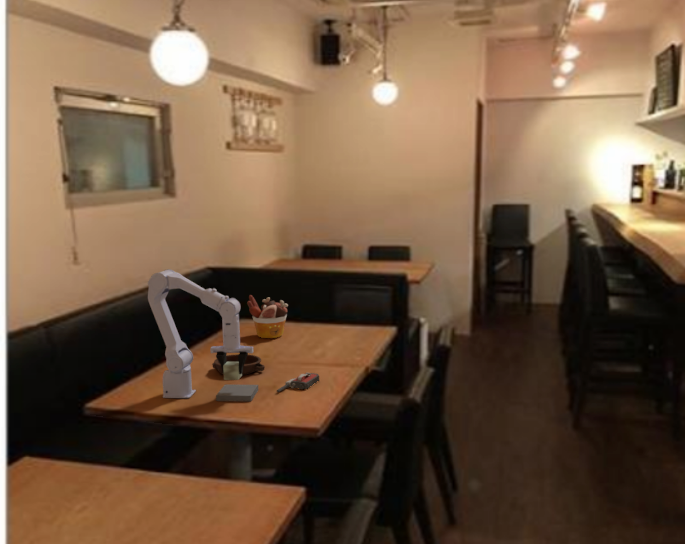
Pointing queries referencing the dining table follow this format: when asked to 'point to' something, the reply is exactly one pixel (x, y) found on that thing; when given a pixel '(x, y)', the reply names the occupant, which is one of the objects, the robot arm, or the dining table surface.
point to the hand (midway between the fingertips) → (233, 373)
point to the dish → (249, 366)
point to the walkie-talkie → (301, 381)
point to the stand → (237, 393)
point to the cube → (231, 371)
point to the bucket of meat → (268, 317)
